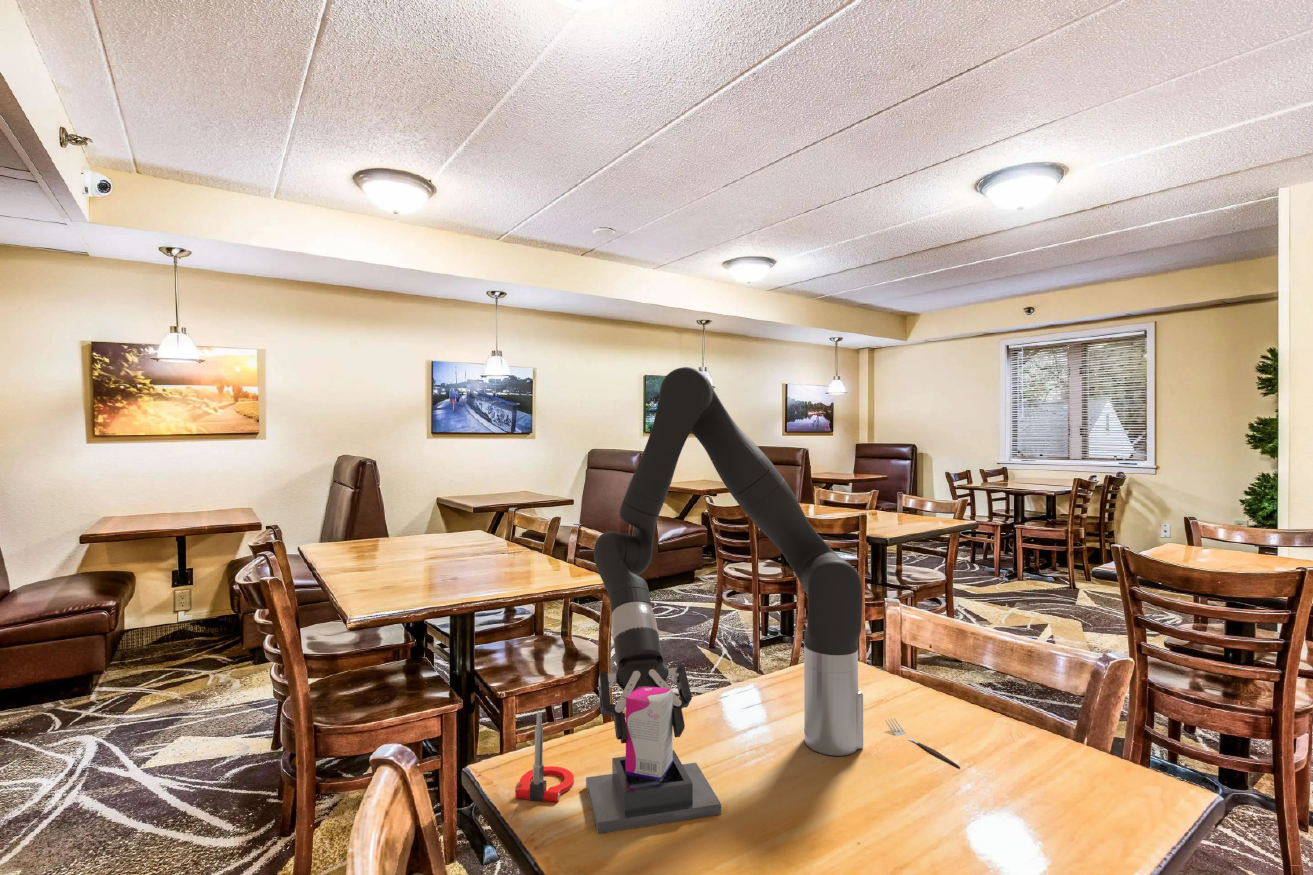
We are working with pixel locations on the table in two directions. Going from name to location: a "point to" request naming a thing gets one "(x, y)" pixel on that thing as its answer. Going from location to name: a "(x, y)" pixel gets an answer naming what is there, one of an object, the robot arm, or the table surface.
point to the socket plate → (649, 797)
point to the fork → (921, 744)
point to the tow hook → (538, 784)
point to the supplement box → (649, 732)
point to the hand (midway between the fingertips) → (652, 738)
